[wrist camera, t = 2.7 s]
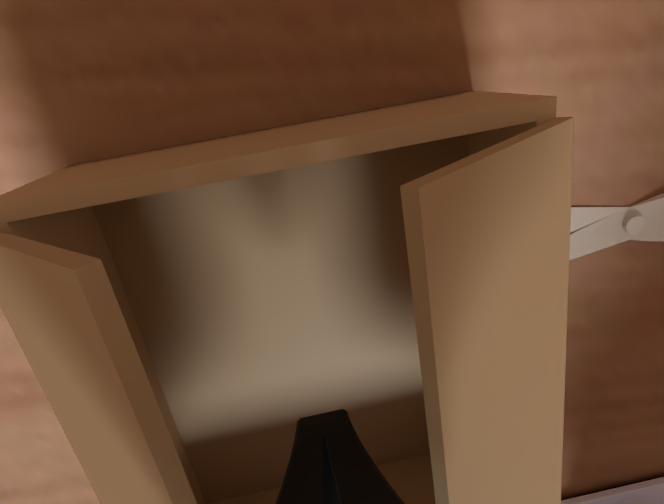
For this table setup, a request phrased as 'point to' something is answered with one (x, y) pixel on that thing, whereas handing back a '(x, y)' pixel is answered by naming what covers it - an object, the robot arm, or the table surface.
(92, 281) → the flap
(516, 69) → the table surface
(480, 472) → the flap
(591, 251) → the scissors
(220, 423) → the carton
